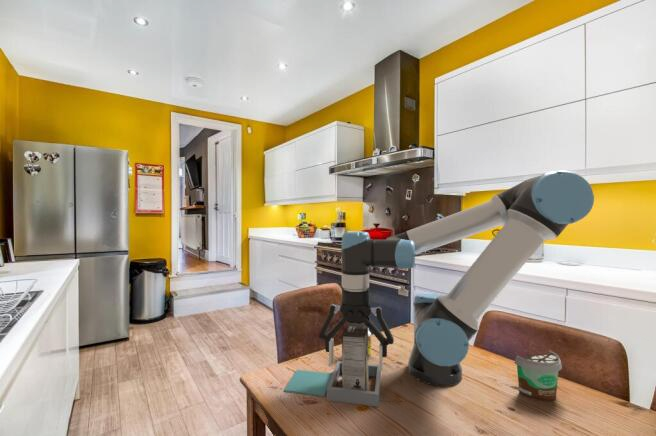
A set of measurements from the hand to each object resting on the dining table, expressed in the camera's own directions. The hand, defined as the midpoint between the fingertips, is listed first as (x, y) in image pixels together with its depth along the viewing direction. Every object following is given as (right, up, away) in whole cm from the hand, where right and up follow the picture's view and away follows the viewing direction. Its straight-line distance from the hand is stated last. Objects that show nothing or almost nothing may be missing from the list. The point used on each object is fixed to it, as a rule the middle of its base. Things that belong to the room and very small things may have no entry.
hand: (355, 366), depth 83 cm
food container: (+48, -6, -5) cm, 49 cm away
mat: (-13, -6, +2) cm, 14 cm away
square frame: (0, -6, 0) cm, 6 cm away
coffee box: (0, -6, 0) cm, 6 cm away
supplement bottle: (+4, -6, +18) cm, 19 cm away
